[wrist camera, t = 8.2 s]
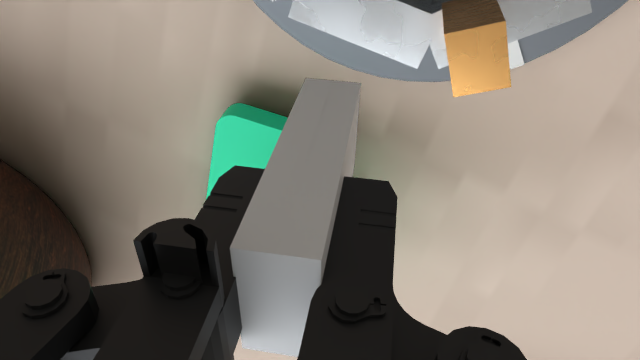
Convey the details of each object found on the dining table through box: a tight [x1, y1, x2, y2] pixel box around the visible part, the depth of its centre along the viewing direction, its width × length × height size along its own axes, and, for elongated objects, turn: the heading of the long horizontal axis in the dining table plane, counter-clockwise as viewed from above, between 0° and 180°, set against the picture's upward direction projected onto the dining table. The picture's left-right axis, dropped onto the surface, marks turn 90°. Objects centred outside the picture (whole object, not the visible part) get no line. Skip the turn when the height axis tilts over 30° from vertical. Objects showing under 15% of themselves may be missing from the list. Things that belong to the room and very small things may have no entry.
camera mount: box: [206, 103, 288, 199], centre depth 28 cm, size 12×8×10 cm, turn 166°
